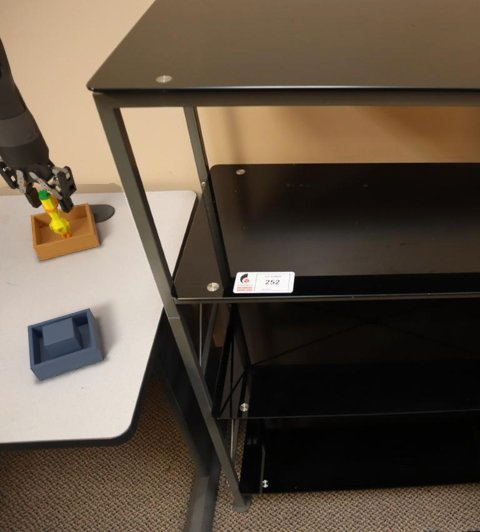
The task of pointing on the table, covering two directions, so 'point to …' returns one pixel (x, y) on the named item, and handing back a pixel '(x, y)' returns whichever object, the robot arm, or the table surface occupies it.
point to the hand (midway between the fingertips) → (53, 207)
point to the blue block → (62, 338)
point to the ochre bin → (52, 242)
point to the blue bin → (50, 367)
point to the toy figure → (55, 214)
